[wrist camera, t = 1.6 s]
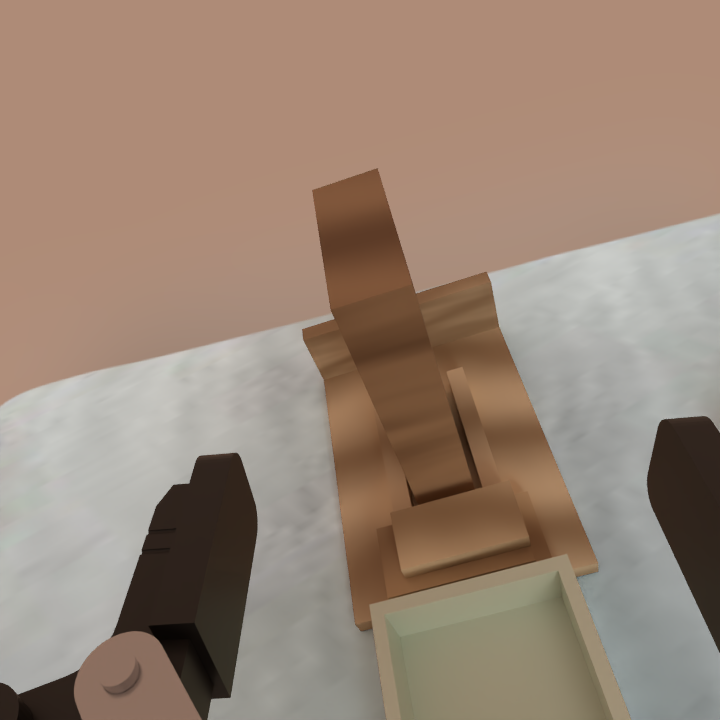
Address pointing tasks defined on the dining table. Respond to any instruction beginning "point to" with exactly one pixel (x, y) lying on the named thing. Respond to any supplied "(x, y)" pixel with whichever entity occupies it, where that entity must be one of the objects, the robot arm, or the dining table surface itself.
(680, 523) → the robot arm
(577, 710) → the tray
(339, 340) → the rack
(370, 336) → the board
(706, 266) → the dining table surface
